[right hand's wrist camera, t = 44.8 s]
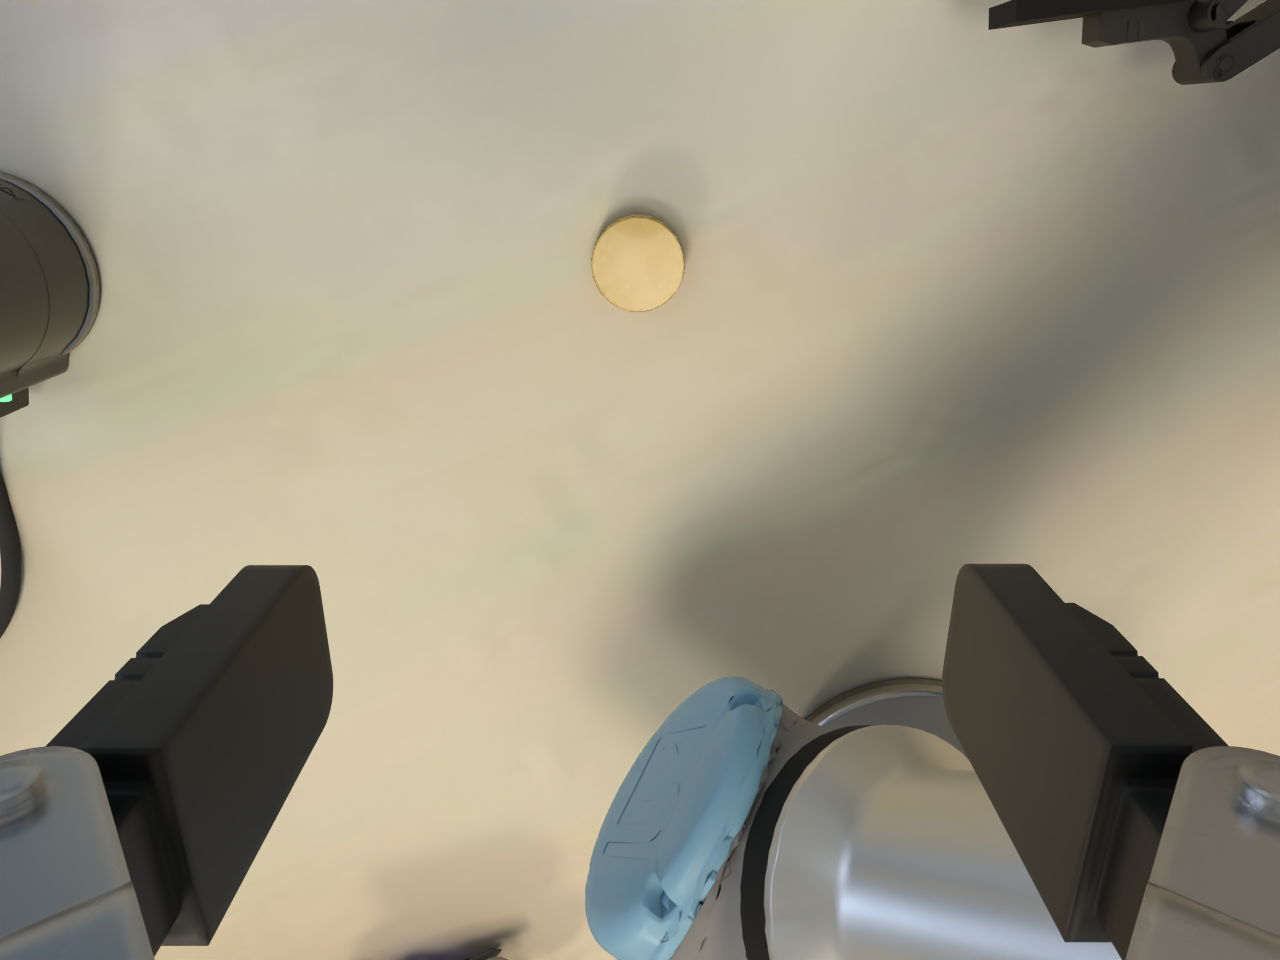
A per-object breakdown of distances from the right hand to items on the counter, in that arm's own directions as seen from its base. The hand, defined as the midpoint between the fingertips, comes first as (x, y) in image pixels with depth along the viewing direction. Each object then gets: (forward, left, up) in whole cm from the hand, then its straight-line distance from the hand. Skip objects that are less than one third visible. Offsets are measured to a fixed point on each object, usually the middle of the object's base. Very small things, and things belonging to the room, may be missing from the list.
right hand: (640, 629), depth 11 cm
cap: (0, 0, -33) cm, 33 cm away
